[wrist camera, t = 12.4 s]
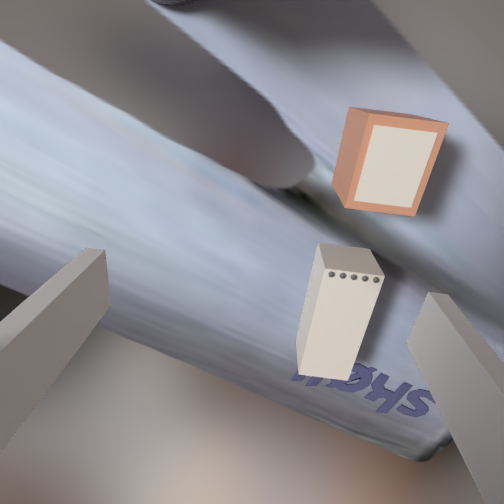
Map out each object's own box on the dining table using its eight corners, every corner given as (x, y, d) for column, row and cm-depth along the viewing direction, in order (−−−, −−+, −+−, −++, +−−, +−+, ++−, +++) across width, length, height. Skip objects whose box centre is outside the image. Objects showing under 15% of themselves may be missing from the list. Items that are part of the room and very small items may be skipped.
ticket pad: (318, 242, 50) (325, 269, 43) (369, 249, 50) (385, 277, 43) (296, 339, 59) (298, 375, 52) (339, 345, 59) (348, 381, 52)
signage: (445, 397, 63) (413, 425, 68) (443, 394, 64) (411, 422, 68) (316, 346, 59) (291, 380, 64) (315, 344, 60) (291, 377, 65)
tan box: (349, 106, 41) (369, 113, 32) (411, 114, 41) (449, 123, 32) (331, 183, 46) (345, 208, 37) (387, 190, 46) (415, 217, 37)
